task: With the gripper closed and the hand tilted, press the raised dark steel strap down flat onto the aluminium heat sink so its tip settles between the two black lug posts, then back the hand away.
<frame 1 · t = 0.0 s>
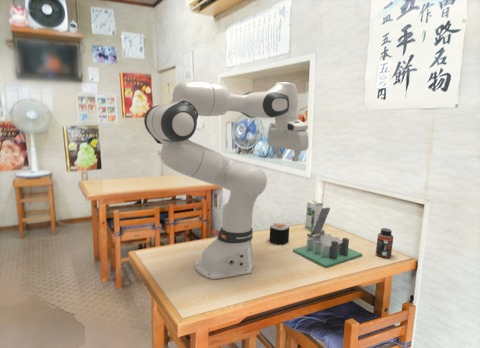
hand: (287, 159, 136), 39 cm above the table, tool pointing down, fingers open, 8 cm apart
heat sink: (325, 252, 143), resting on circuit board
syrup box: (312, 229, 172), on the table
supplement bottle: (383, 255, 143), on the table
circuit board: (327, 253, 142), on the table
sushi: (278, 241, 155), on the table
steel strap: (320, 221, 144), point 13 cm above the table, hinge at 70.0°
lug posts: (338, 259, 137), resting on circuit board
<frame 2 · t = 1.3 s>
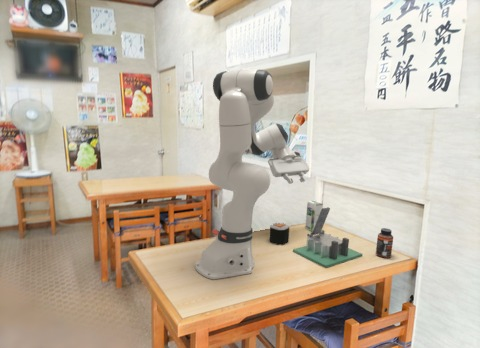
hand: (297, 182, 154), 27 cm above the table, tool tilted 45°, fingers open, 6 cm apart
nothing on the table moved.
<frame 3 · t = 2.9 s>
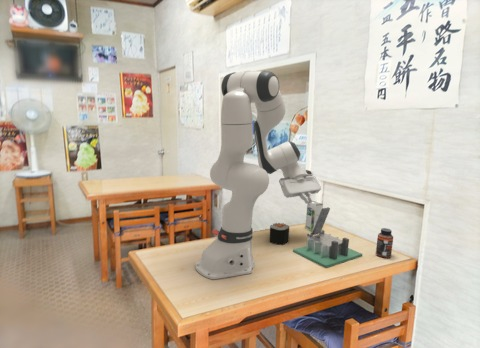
hand: (309, 202, 149), 19 cm above the table, tool tilted 45°, fingers closed
nothing on the table moved.
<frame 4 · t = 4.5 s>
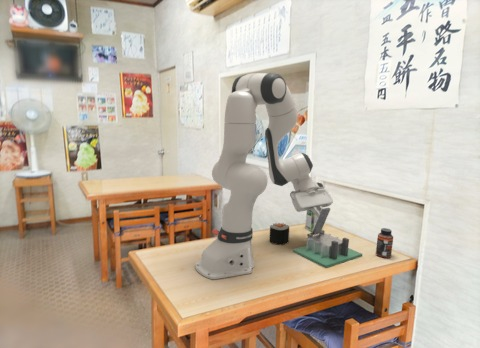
hand: (321, 216, 144), 15 cm above the table, tool tilted 45°, fingers closed, pressing on steel strap
steel strap: (321, 221, 144), point 13 cm above the table, hinge at 69.1°, touching gripper
everything else where it was.
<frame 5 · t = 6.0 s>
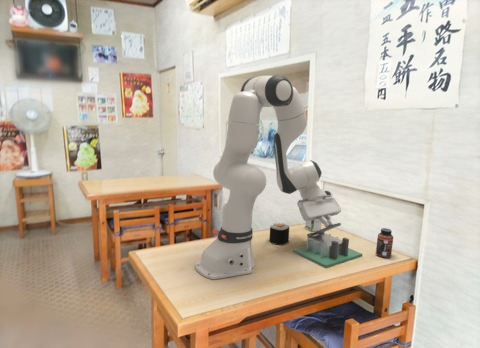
hand: (329, 226, 140), 12 cm above the table, tool tilted 45°, fingers closed, pressing on steel strap
steel strap: (326, 229, 142), point 10 cm above the table, hinge at 33.5°, touching gripper
everything else where it was.
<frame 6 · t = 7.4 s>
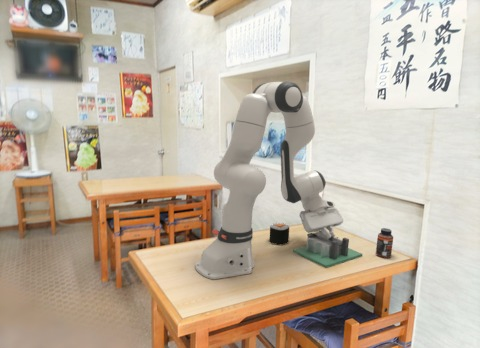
hand: (331, 237, 140), 8 cm above the table, tool tilted 45°, fingers closed, pressing on steel strap
steel strap: (327, 238, 141), point 7 cm above the table, hinge at -0.5°, touching gripper, heat sink
everything else where it was.
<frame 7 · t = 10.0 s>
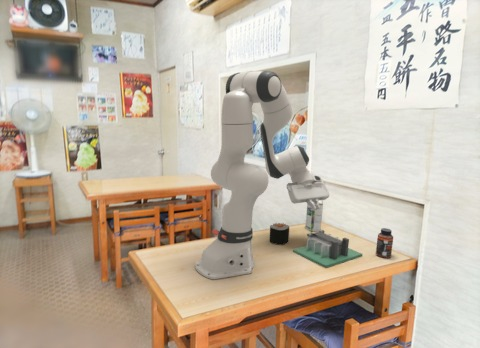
hand: (316, 209, 145), 17 cm above the table, tool tilted 45°, fingers closed
steel strap: (327, 238, 141), point 7 cm above the table, hinge at -0.5°, touching heat sink
everything else where it was.
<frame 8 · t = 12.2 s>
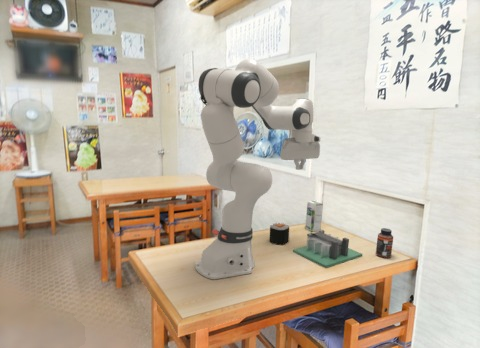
hand: (299, 169, 149), 33 cm above the table, tool pointing down, fingers closed
nothing on the table moved.
at the end: steel strap at +0° (first picture: +70°); the gripper is holding nothing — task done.
